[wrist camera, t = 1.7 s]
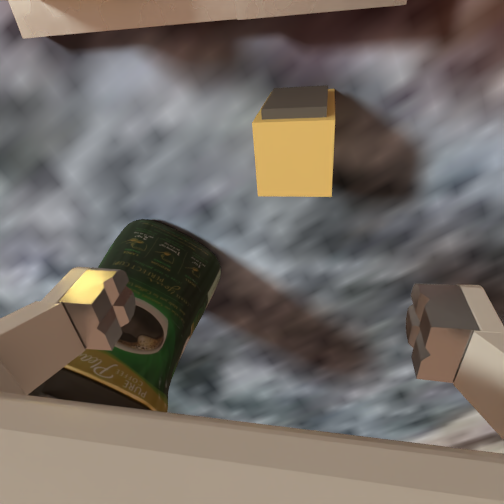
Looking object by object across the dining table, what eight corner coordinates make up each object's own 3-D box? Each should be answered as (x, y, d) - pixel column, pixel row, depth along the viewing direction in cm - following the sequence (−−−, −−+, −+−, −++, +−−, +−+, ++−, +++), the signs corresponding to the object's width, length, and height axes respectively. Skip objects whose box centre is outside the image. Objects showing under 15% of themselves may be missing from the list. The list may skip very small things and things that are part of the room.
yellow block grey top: (334, 80, 22) (335, 108, 17) (331, 151, 25) (331, 196, 19) (271, 83, 23) (251, 112, 18) (274, 152, 26) (257, 196, 20)
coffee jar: (112, 263, 35) (-51, 463, 20) (135, 201, 30) (-55, 402, 15) (201, 308, 36) (110, 527, 21) (236, 256, 32) (152, 488, 17)
